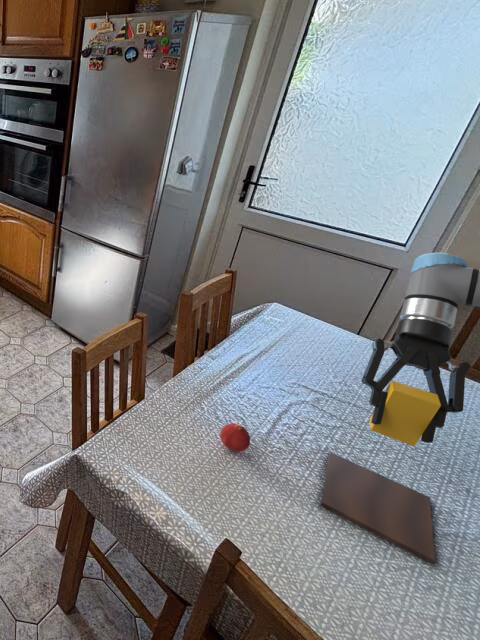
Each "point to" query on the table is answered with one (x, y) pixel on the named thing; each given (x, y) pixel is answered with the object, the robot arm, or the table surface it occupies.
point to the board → (379, 506)
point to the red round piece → (235, 437)
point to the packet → (406, 413)
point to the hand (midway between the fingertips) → (400, 432)
